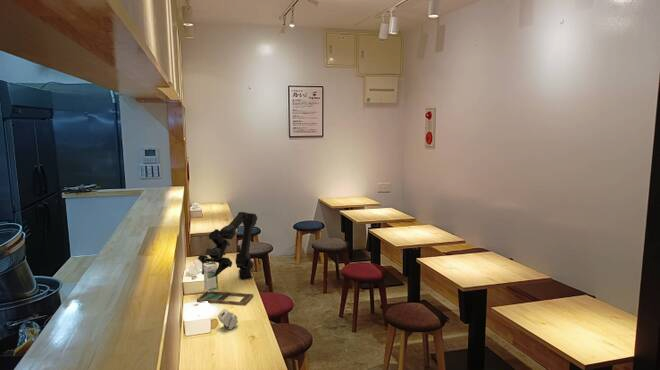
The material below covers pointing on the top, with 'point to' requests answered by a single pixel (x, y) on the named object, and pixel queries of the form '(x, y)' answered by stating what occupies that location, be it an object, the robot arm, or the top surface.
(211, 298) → the brown rectangular tray
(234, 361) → the top surface
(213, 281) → the syrup box
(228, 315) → the grey lumpy piece
